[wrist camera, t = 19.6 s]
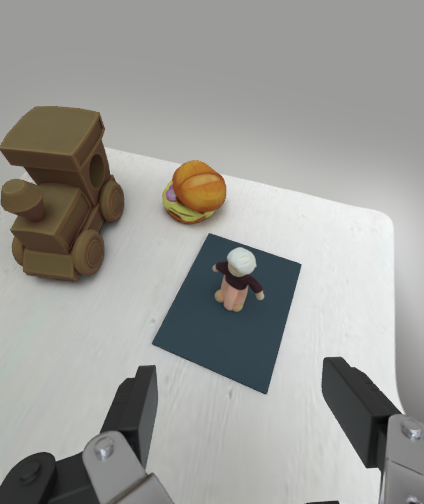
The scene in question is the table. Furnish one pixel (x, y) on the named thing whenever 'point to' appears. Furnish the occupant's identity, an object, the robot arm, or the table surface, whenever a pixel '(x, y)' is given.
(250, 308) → the mat
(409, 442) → the robot arm
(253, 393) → the table surface
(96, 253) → the wooden toy train
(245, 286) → the grandmother figurine
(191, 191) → the cheeseburger
